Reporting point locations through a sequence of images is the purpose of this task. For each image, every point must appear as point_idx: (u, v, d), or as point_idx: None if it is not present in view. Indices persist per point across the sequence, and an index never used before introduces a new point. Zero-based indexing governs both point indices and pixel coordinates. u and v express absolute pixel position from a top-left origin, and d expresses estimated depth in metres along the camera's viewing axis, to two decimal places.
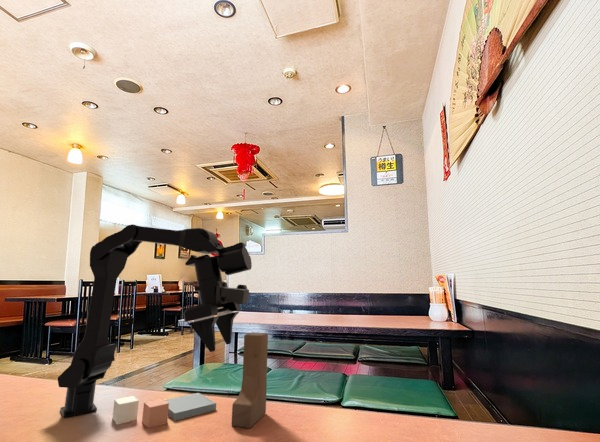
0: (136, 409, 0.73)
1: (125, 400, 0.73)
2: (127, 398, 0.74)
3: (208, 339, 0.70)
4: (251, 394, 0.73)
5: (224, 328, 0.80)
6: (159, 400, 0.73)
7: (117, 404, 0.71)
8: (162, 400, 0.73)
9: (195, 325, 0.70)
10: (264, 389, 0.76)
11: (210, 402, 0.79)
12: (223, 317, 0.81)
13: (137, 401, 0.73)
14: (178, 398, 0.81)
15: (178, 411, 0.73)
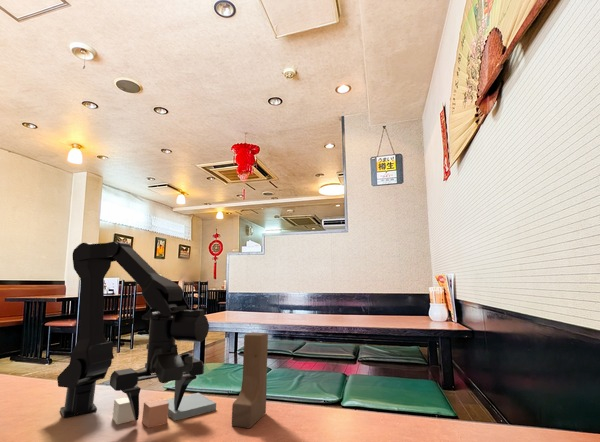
0: None
1: (125, 400, 0.73)
2: (127, 398, 0.74)
3: (132, 407, 0.69)
4: (251, 394, 0.73)
5: (177, 391, 0.75)
6: (159, 400, 0.73)
7: (117, 404, 0.71)
8: (162, 400, 0.73)
9: None
10: (264, 389, 0.76)
11: (210, 402, 0.79)
12: None
13: None
14: None
15: (178, 411, 0.73)
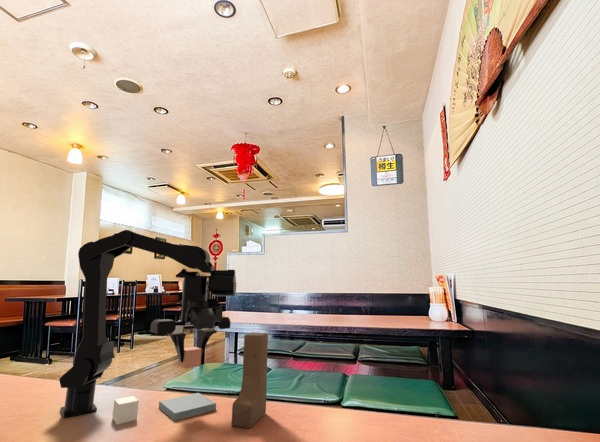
0: (136, 409, 0.73)
1: (125, 400, 0.73)
2: (127, 398, 0.74)
3: (178, 350, 0.79)
4: (251, 394, 0.73)
5: (199, 343, 0.83)
6: (192, 347, 0.83)
7: (117, 404, 0.71)
8: (195, 347, 0.83)
9: None
10: (264, 389, 0.76)
11: (210, 402, 0.79)
12: (201, 332, 0.84)
13: (137, 401, 0.73)
14: (178, 398, 0.81)
15: (178, 411, 0.73)
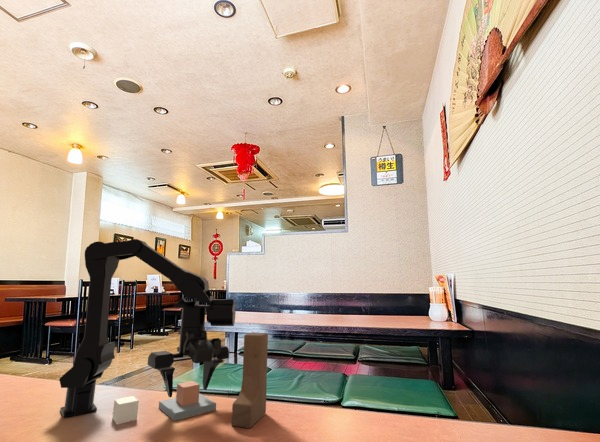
0: (136, 409, 0.73)
1: (125, 400, 0.73)
2: (127, 398, 0.74)
3: (166, 385, 0.76)
4: (251, 394, 0.73)
5: (205, 373, 0.83)
6: (190, 382, 0.81)
7: (117, 404, 0.71)
8: (193, 382, 0.81)
9: None
10: (264, 389, 0.76)
11: (210, 402, 0.79)
12: (207, 362, 0.84)
13: (137, 401, 0.73)
14: None
15: (178, 411, 0.73)
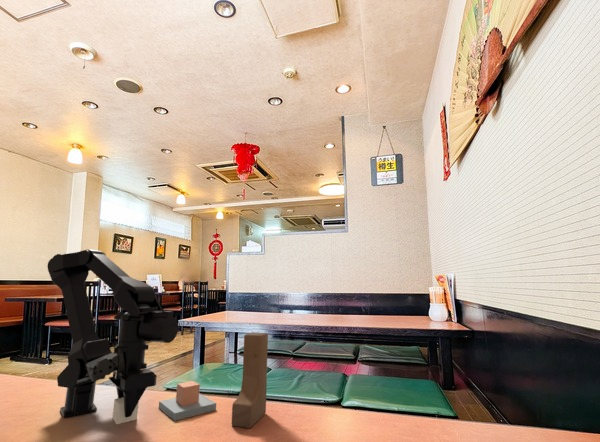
0: (136, 408, 0.73)
1: None
2: None
3: None
4: (251, 394, 0.73)
5: None
6: (190, 382, 0.81)
7: (117, 403, 0.71)
8: (193, 382, 0.81)
9: None
10: (264, 389, 0.76)
11: (210, 402, 0.79)
12: None
13: None
14: None
15: (178, 411, 0.73)
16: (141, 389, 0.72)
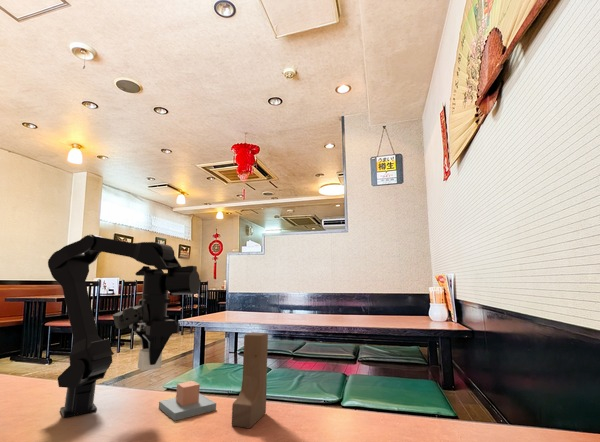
0: (160, 358, 0.76)
1: None
2: None
3: None
4: (251, 394, 0.73)
5: None
6: (190, 382, 0.81)
7: (142, 352, 0.75)
8: (193, 382, 0.81)
9: None
10: (264, 389, 0.76)
11: (210, 402, 0.79)
12: None
13: None
14: None
15: (178, 411, 0.73)
16: (164, 339, 0.75)
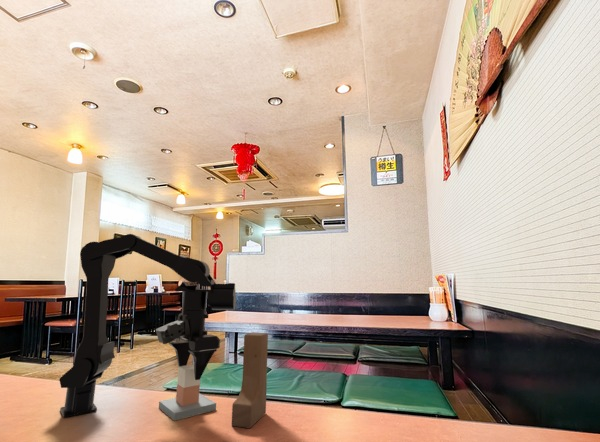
0: None
1: (189, 367, 0.80)
2: (189, 365, 0.81)
3: None
4: (251, 394, 0.73)
5: None
6: None
7: (183, 370, 0.79)
8: None
9: None
10: (264, 389, 0.76)
11: (210, 402, 0.79)
12: None
13: None
14: None
15: (178, 411, 0.73)
16: (209, 354, 0.78)
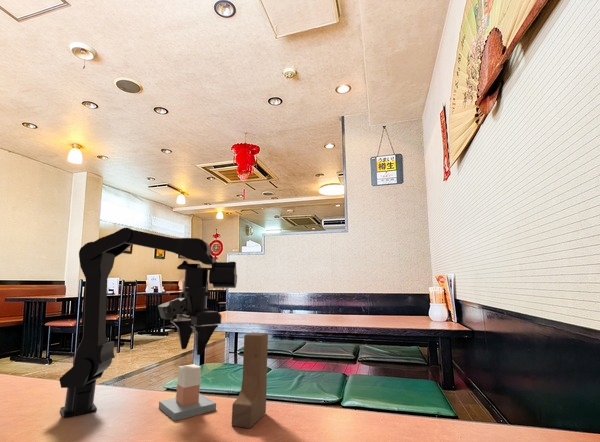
0: (199, 375, 0.80)
1: (189, 367, 0.80)
2: (189, 365, 0.81)
3: None
4: (251, 394, 0.73)
5: None
6: None
7: (183, 370, 0.79)
8: None
9: None
10: (264, 389, 0.76)
11: (210, 402, 0.79)
12: None
13: (200, 368, 0.80)
14: None
15: (178, 411, 0.73)
16: (210, 330, 0.79)
